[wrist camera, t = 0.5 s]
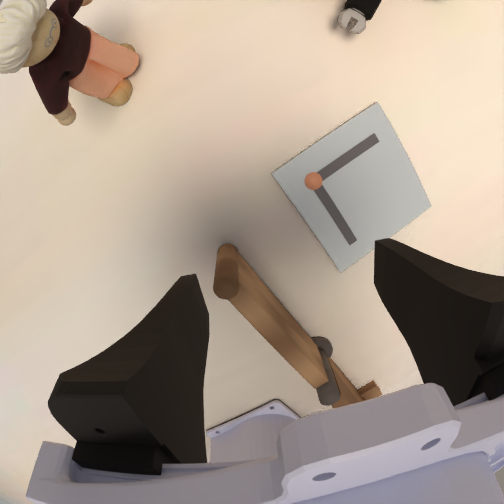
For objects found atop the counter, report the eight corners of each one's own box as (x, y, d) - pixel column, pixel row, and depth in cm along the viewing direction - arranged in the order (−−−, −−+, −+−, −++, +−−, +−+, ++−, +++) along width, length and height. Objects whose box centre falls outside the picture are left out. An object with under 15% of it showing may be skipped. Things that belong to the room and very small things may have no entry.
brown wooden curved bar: (328, 356, 26) (344, 398, 21) (313, 365, 26) (325, 408, 22) (230, 239, 21) (229, 272, 17) (212, 252, 22) (206, 289, 17)
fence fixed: (339, 411, 30) (352, 452, 25) (281, 354, 26) (291, 402, 21) (379, 389, 29) (397, 428, 24) (331, 324, 25) (350, 370, 20)
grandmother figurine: (147, 114, 18) (35, 111, 7) (95, 125, 18) (-39, 145, 7) (141, 12, 15) (51, -77, 4) (90, 26, 15) (-26, -30, 4)
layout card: (339, 270, 23) (340, 273, 23) (270, 173, 20) (271, 174, 20) (429, 205, 22) (432, 206, 21) (376, 102, 19) (378, 102, 18)
